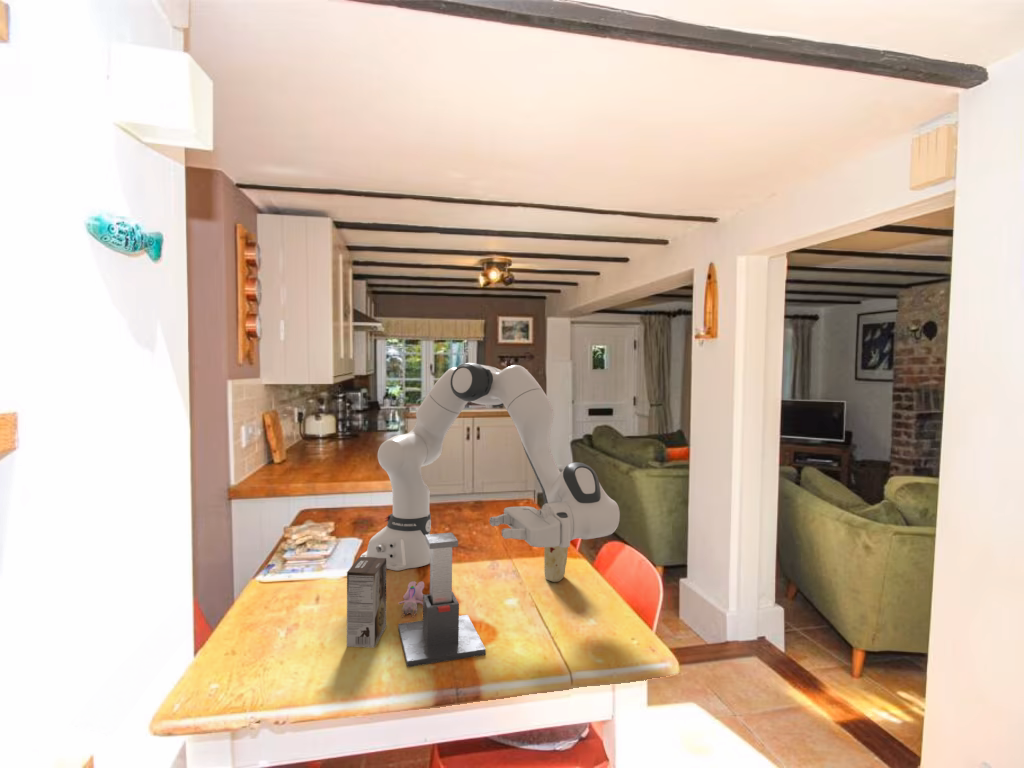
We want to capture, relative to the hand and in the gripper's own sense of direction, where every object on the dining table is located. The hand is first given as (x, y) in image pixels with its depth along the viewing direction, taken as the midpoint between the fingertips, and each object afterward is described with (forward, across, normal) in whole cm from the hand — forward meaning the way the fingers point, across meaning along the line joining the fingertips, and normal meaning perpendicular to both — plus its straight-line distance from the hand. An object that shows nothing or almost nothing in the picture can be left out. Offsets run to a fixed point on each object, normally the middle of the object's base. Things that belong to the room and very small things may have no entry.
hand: (496, 527), depth 118 cm
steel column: (+12, 0, +22) cm, 26 cm away
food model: (-25, -26, +24) cm, 43 cm away
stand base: (+12, 0, +24) cm, 27 cm away
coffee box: (+27, -7, +24) cm, 37 cm away
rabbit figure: (+15, -20, +24) cm, 35 cm away
